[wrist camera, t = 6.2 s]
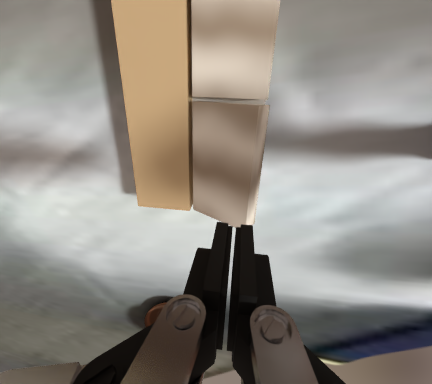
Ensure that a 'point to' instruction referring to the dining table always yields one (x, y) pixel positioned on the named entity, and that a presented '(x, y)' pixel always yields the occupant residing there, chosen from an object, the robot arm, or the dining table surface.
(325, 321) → the dining table surface
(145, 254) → the dining table surface
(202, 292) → the robot arm
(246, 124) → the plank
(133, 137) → the floor board
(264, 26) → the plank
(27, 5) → the dining table surface
